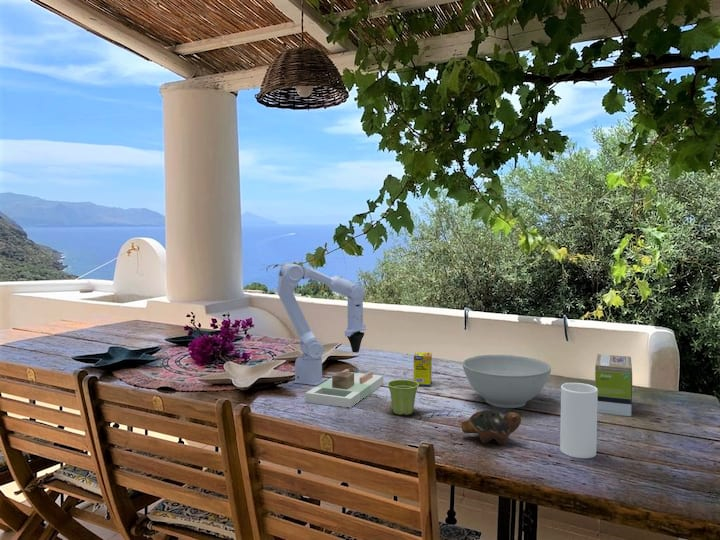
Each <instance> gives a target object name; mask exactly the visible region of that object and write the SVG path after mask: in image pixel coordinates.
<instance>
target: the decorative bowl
mask: <svg viewBox="0 0 720 540" xmlns="http://www.w3.org/2000/svg"><path fill="white" fill-rule="evenodd" d="M462 367H463V371H464V374H465V376H466V379H467V381H468V382H469V385H470V386H471V387H472V388H473V390H474V391H475V392H476V393H477V394H478V395H480V396H481V397H482V398H484V400H485V402H486V404H488V405H491V406H493V407H498V408H504V409H515V408H516V409H518V408H522V407H525V406H526V405H527V402H528V401H530V400H532V399H533V398H535V397H536V396H537V395H539V394H540V392H541V391H542V390H543V389H544V387H545V385H547V382H548V380H549V377H550V375H551V371H552V367H551V365H550V364H548V363H547V362H545V361H543V360H540V359H536V358H532V357H527V356H521V355H513V354H484V355H482V354H481V355H477V356H471V357H469V358H468V357H467V358H466V359H464V360H463V362H462Z"/></svg>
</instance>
